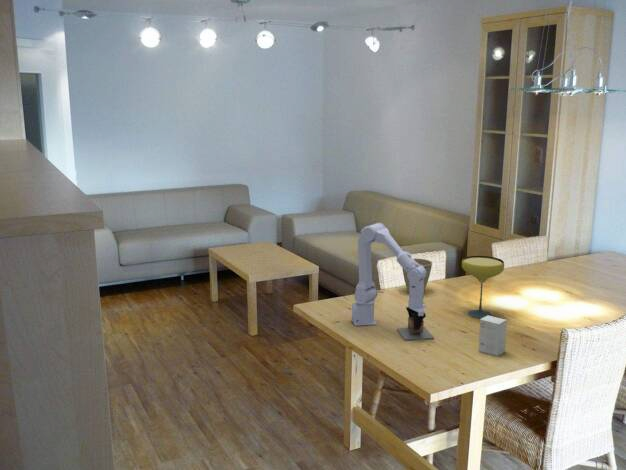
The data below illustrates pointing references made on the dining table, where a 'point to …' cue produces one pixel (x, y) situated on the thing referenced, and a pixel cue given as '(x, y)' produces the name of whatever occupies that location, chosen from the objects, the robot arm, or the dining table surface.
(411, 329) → the walnut cube
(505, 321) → the small box
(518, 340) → the dining table surface
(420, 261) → the plant pot
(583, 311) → the dining table surface
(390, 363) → the dining table surface
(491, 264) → the cocktail glass
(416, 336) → the coaster
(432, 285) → the dining table surface
